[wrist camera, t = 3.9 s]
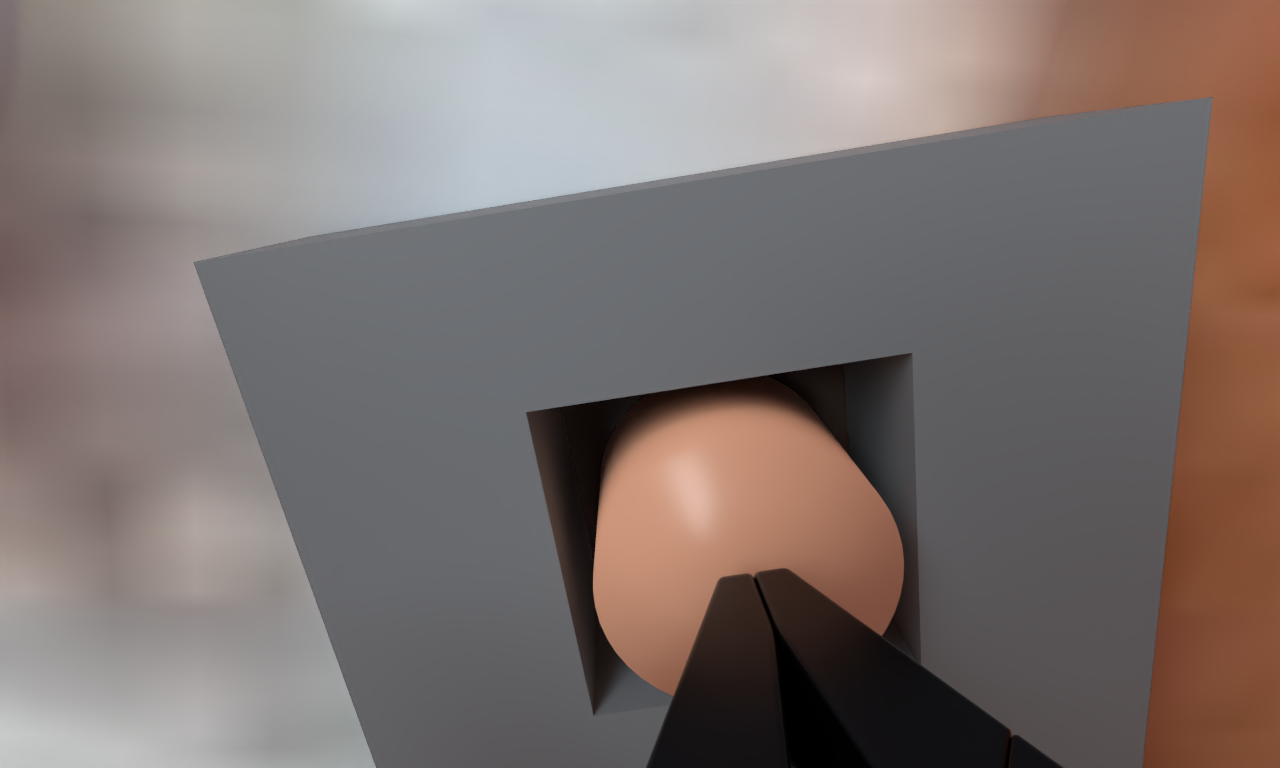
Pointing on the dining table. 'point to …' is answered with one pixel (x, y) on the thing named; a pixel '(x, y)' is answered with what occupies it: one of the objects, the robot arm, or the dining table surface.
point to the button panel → (731, 350)
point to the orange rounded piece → (730, 517)
